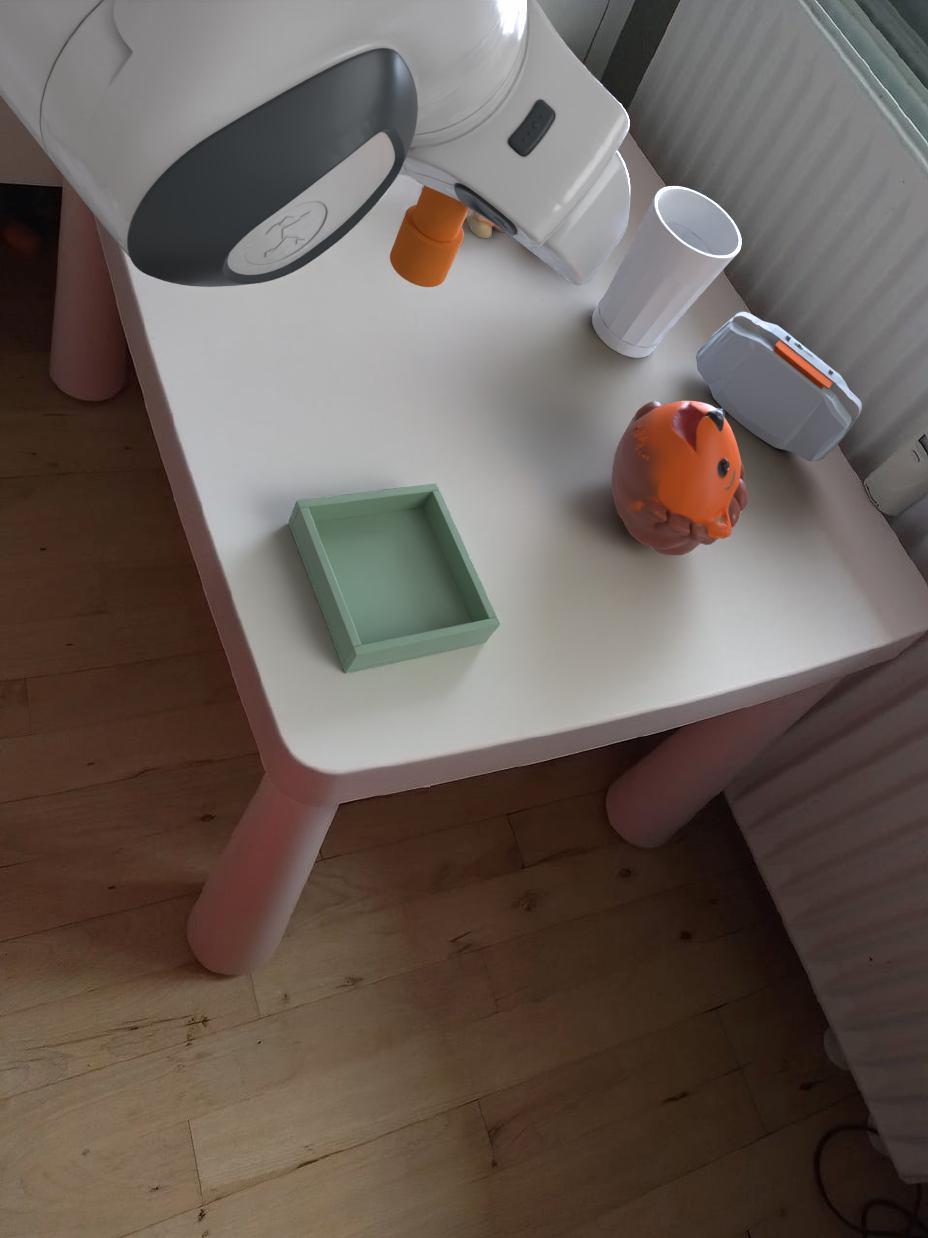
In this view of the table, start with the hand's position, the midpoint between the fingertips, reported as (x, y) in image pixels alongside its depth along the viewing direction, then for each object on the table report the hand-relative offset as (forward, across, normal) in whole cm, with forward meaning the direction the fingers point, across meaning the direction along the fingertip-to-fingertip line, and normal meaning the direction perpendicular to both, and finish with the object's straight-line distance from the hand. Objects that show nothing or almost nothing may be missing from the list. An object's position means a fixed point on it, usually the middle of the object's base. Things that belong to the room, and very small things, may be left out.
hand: (459, 177), depth 54 cm
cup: (+34, +10, +6) cm, 36 cm away
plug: (+4, 0, -5) cm, 6 cm away
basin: (+7, +10, -21) cm, 25 cm away
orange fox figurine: (+22, +21, -7) cm, 31 cm away
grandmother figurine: (+34, -6, +6) cm, 35 cm away
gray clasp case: (+35, +23, +6) cm, 42 cm away
